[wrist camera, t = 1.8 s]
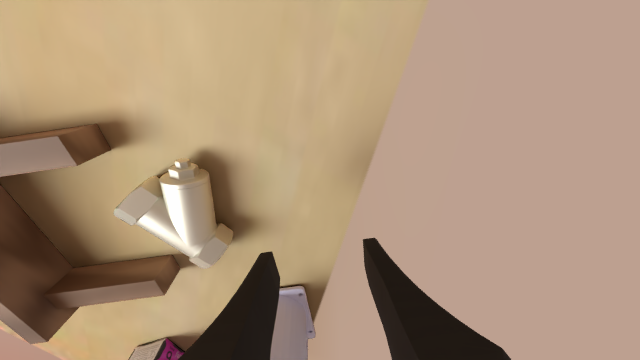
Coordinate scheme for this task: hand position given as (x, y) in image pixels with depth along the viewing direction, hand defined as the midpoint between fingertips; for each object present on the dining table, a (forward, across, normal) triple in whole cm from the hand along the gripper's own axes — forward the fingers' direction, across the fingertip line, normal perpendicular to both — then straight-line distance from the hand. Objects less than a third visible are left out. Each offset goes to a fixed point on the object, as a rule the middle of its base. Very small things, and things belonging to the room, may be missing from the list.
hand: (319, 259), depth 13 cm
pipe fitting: (+9, +10, 0) cm, 13 cm away
